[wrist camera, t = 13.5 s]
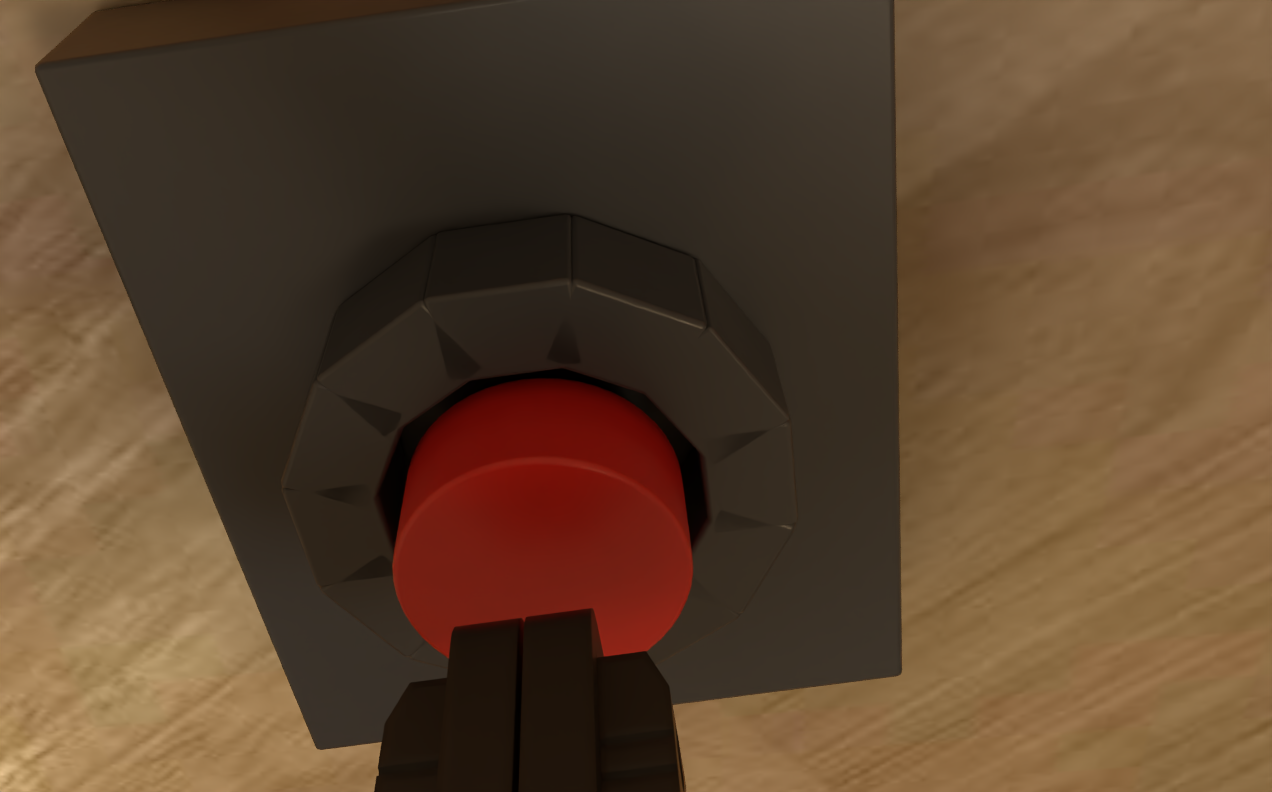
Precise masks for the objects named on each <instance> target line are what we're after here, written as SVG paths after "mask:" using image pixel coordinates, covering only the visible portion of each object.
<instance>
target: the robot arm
mask: <svg viewBox="0 0 1272 792" xmlns="http://www.w3.org/2000/svg"><path fill="white" fill-rule="evenodd" d="M378 769H379V776H377V777H376V784H375V791H374V792H686V785H685V777H684V771H683V765H682V759H681V753H680V747H679V741H678V735H677V729H676V723H675V717H674V711H673V705H672V699H671V693H670V687H669V685H668V683H667V682H666V680H665V679H664V677H663V676H662V674H661V673H660V671H659V670H658V668H657V667H656V665H655V664H654V662H653V661H652V659H651V658H650V656H649V655H648V653H647V652H646V651H642V652H635V653H627V654H619V655H612V656H604V654H603V649H602V645H601V640H600V635H599V630H598V625H597V621H596V616H595V613H594V610H593V608H588V609H581V610H574V611H566V612H559V613H551V614H544V615H536V616H529V617H526V618H525V622H524V620H523V619H522V618H516V619H509V620H501V621H494V622H486V623H479V624H471V625H464V626H456V627H454V629H453V631H452V635H451V641H450V651H449V661H448V671H447V678H441V679H433V680H426V681H418V682H411V683H409V685H408V686H407V688H406V690H405V691H404V693H403V694H402V696H401V698H400V699H399V701H398V703H397V704H396V706H395V707H394V709H393V711H392V712H391V714H390V716H389V717H388V719H387V720H386V722H385V724H384V731H383V737H382V744H381V751H380V757H379V764H378Z"/></svg>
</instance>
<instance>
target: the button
mask: <svg viewBox="0 0 1272 792" xmlns="http://www.w3.org/2000/svg"><path fill="white" fill-rule="evenodd" d="M392 570H393V582H394V586H395V591H396V595H397V597H398V600H399V602H400V605H401V607H402V609H403V611H404V613H405V615H406V616H407V618H408V620H409V621H410V623H411V625H412V626H413V627H414V628H415V629H416V631H417V632H418V633H419V634H420V635H421V637H422V638H423V639H425V640H426V641H427V642H428V643H429V644H430V645H431V646H432V647H433V648H435V649H436V650H437V651H439V652H440V653H442V654H443V655H445V656H446V657H447V658H449V651H450V641H451V635H452V631H453V629H454V627H456V626H464V625H471V624H479V623H486V622H494V621H501V620H509V619H516V618H522V619H523V620H524V622H525V618H526V617H529V616H536V615H544V614H551V613H559V612H566V611H574V610H581V609H588V608H593V610H594V613H595V616H596V621H597V625H598V630H599V635H600V640H601V645H602V649H603V654H604V656H612V655H619V654H627V653H635V652H642V651H648V650H649V649H650V648H651V647H652V646H654V645H655V644H656V643H657V642H658V641H660V640H661V639H662V637H663V636H664V635H665V634H666V633H667V632H668V631H669V630H670V629H671V627H672V626H673V624H674V623H675V621H676V620H677V618H678V617H679V615H680V613H681V611H682V609H683V607H684V605H685V603H686V601H687V599H688V595H689V592H690V589H691V585H692V577H693V557H692V549H691V541H690V534H689V526H688V519H687V511H686V504H685V496H684V488H683V481H682V474H681V470H680V465H679V461H678V459H677V456H676V454H675V451H674V449H673V447H672V445H671V443H670V442H669V440H668V438H667V437H666V435H665V434H664V433H663V431H662V430H661V429H660V428H659V426H658V425H657V424H656V423H655V422H654V421H653V420H652V419H651V418H650V417H649V416H648V415H647V414H645V413H644V412H643V411H642V410H641V409H640V408H638V407H637V406H635V405H634V404H632V403H631V402H630V401H628V400H626V399H625V398H623V397H621V396H619V395H617V394H615V393H613V392H611V391H608V390H606V389H603V388H601V387H598V386H595V385H592V384H588V383H584V382H580V381H575V380H568V379H561V378H530V379H520V380H514V381H509V382H504V383H500V384H497V385H494V386H491V387H488V388H485V389H483V390H480V391H478V392H476V393H474V394H472V395H469V396H468V397H466V398H464V399H463V400H461V401H459V402H458V403H456V404H454V405H453V406H452V407H451V408H449V409H448V410H447V411H446V412H444V413H443V414H442V415H441V416H440V417H439V418H438V419H437V420H436V421H435V422H434V423H433V424H432V425H431V426H430V427H429V428H428V429H427V431H426V432H425V434H424V435H423V437H422V438H421V440H420V441H419V443H418V445H417V447H416V449H415V451H414V453H413V455H412V459H411V462H410V465H409V469H408V474H407V480H406V485H405V491H404V497H403V503H402V508H401V514H400V520H399V525H398V531H397V537H396V543H395V548H394V556H393V564H392Z"/></svg>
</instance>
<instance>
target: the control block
mask: <svg viewBox="0 0 1272 792" xmlns="http://www.w3.org/2000/svg"><path fill="white" fill-rule="evenodd" d="M35 73H36V75H37V78H38V80H39V82H40V85H41V87H42V90H43V92H44V94H45V97H46V99H47V102H48V104H49V107H50V109H51V111H52V114H53V116H54V119H55V121H56V123H57V126H58V128H59V131H60V133H61V135H62V138H63V140H64V143H65V145H66V147H67V150H68V152H69V155H70V157H71V159H72V162H73V164H74V167H75V169H76V171H77V174H78V176H79V179H80V181H81V183H82V186H83V188H84V191H85V193H86V195H87V198H88V200H89V203H90V205H91V207H92V210H93V212H94V215H95V217H96V220H97V222H98V224H99V227H100V229H101V232H102V234H103V236H104V239H105V241H106V244H107V246H108V248H109V251H110V253H111V256H112V258H113V260H114V263H115V265H116V268H117V270H118V272H119V275H120V277H121V280H122V282H123V284H124V287H125V289H126V292H127V294H128V296H129V299H130V301H131V304H132V306H133V308H134V311H135V313H136V316H137V318H138V320H139V323H140V325H141V328H142V330H143V333H144V335H145V337H146V340H147V342H148V345H149V347H150V349H151V352H152V354H153V357H154V359H155V361H156V364H157V366H158V369H159V371H160V373H161V376H162V378H163V381H164V383H165V385H166V388H167V390H168V393H169V395H170V397H171V400H172V402H173V405H174V407H175V409H176V412H177V414H178V417H179V419H180V421H181V424H182V426H183V429H184V431H185V433H186V436H187V438H188V441H189V443H190V446H191V448H192V450H193V453H194V455H195V458H196V460H197V462H198V465H199V467H200V470H201V472H202V474H203V477H204V479H205V482H206V484H207V486H208V489H209V491H210V494H211V496H212V498H213V501H214V503H215V506H216V508H217V510H218V513H219V515H220V518H221V520H222V522H223V525H224V527H225V530H226V532H227V534H228V537H229V539H230V542H231V544H232V546H233V549H234V551H235V554H236V556H237V559H238V561H239V563H240V566H241V568H242V571H243V573H244V575H245V578H246V580H247V583H248V585H249V587H250V590H251V592H252V595H253V597H254V599H255V602H256V604H257V607H258V609H259V611H260V614H261V616H262V619H263V621H264V623H265V626H266V628H267V631H268V633H269V635H270V638H271V640H272V643H273V645H274V647H275V650H276V652H277V655H278V657H279V659H280V662H281V664H282V667H283V669H284V672H285V674H286V676H287V679H288V681H289V684H290V686H291V688H292V691H293V693H294V696H295V698H296V700H297V703H298V705H299V708H300V710H301V712H302V715H303V717H304V720H305V722H306V724H307V727H308V729H309V732H310V734H311V736H312V739H313V741H314V744H315V746H316V748H317V749H320V750H323V749H331V748H339V747H347V746H355V745H362V744H370V743H378V742H382V737H383V731H384V724H385V722H386V720H387V719H388V717H389V716H390V714H391V712H392V711H393V709H394V707H395V706H396V704H397V703H398V701H399V699H400V698H401V696H402V694H403V693H404V691H405V690H406V688H407V686H408V685H409V683H411V682H418V681H426V680H433V679H441V678H447V671H448V661H449V658H447V657H446V656H445V655H443V654H442V653H440V652H439V651H437V650H436V649H435V648H433V647H432V646H431V645H430V644H429V643H428V642H427V641H426V640H425V639H423V638H422V637H421V635H420V634H419V633H418V632H417V631H416V629H415V628H414V627H413V626H412V625H411V623H410V621H409V620H408V618H407V616H406V615H405V613H404V611H403V609H402V607H401V605H400V602H399V600H398V597H397V595H396V591H395V586H394V582H393V570H392V564H393V556H394V548H395V543H396V537H397V531H398V525H399V520H400V514H401V508H402V503H403V497H404V491H405V485H406V480H407V474H408V469H409V465H410V462H411V459H412V455H413V453H414V451H415V449H416V447H417V445H418V443H419V441H420V440H421V438H422V437H423V435H424V434H425V432H426V431H427V429H428V428H429V427H430V426H431V425H432V424H433V423H434V422H435V421H436V420H437V419H438V418H439V417H440V416H441V415H442V414H443V413H444V412H446V411H447V410H448V409H449V408H451V407H452V406H453V405H454V404H456V403H458V402H459V401H461V400H463V399H464V398H466V397H468V396H469V395H472V394H474V393H476V392H478V391H480V390H483V389H485V388H488V387H491V386H494V385H497V384H500V383H504V382H509V381H514V380H520V379H530V378H561V379H568V380H575V381H580V382H584V383H588V384H592V385H595V386H598V387H601V388H603V389H606V390H608V391H611V392H613V393H615V394H617V395H619V396H621V397H623V398H625V399H626V400H628V401H630V402H631V403H632V404H634V405H635V406H637V407H638V408H640V409H641V410H642V411H643V412H644V413H645V414H647V415H648V416H649V417H650V418H651V419H652V420H653V421H654V422H655V423H656V424H657V425H658V426H659V428H660V429H661V430H662V431H663V433H664V434H665V435H666V437H667V438H668V440H669V442H670V443H671V445H672V447H673V449H674V451H675V454H676V456H677V459H678V461H679V465H680V470H681V474H682V481H683V488H684V496H685V504H686V511H687V519H688V526H689V534H690V541H691V549H692V557H693V577H692V585H691V589H690V592H689V595H688V599H687V601H686V603H685V605H684V607H683V609H682V611H681V613H680V615H679V617H678V618H677V620H676V621H675V623H674V624H673V626H672V627H671V629H670V630H669V631H668V632H667V633H666V634H665V635H664V636H663V637H662V639H661V640H660V641H658V642H657V643H656V644H655V645H654V646H652V647H651V648H650V649H649V650H648V651H646V652H647V653H648V655H649V656H650V658H651V659H652V661H653V662H654V664H655V665H656V667H657V668H658V670H659V671H660V673H661V674H662V676H663V677H664V679H665V680H666V682H667V683H668V685H669V687H670V693H671V699H672V705H675V704H683V703H691V702H699V701H706V700H714V699H722V698H730V697H738V696H745V695H753V694H761V693H769V692H777V691H785V690H792V689H800V688H808V687H816V686H824V685H831V684H839V683H847V682H855V681H863V680H871V679H878V678H886V677H894V676H898V675H900V674H901V672H902V628H901V542H900V455H899V369H898V283H897V197H896V110H895V24H894V0H169V1H162V2H155V3H148V4H142V5H135V6H128V7H121V8H115V9H108V10H101V11H95V12H94V13H92V14H91V15H90V16H89V17H88V18H86V19H85V20H84V21H83V22H82V23H81V24H80V25H79V26H78V27H77V28H76V29H74V30H73V31H72V32H71V33H70V34H69V35H68V36H67V37H66V38H65V39H64V40H62V41H61V42H60V43H59V44H58V45H57V46H56V47H55V48H54V49H53V50H51V51H50V52H49V53H48V54H47V55H46V56H45V57H44V58H43V59H42V60H41V61H39V62H38V63H37V64H36V65H35Z"/></svg>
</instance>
